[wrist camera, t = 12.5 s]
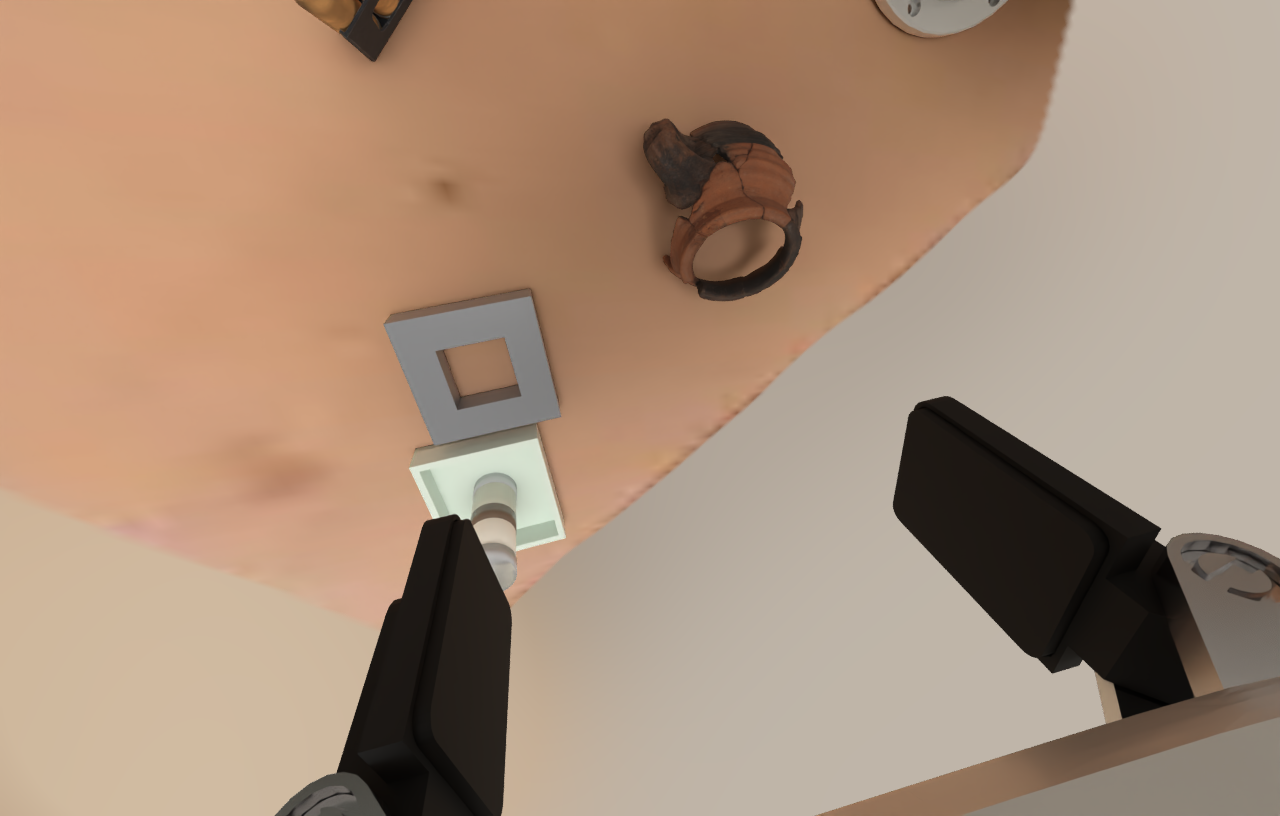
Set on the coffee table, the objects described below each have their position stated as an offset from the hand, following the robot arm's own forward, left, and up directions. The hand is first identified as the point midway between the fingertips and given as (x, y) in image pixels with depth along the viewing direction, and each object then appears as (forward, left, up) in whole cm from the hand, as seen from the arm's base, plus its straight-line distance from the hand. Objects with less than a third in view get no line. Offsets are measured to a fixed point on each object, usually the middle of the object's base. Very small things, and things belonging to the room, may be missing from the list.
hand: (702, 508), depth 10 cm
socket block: (+8, +5, -25) cm, 27 cm away
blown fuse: (+10, +16, -25) cm, 31 cm away
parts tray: (+10, +16, -25) cm, 31 cm away
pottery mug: (-9, -3, -26) cm, 27 cm away
